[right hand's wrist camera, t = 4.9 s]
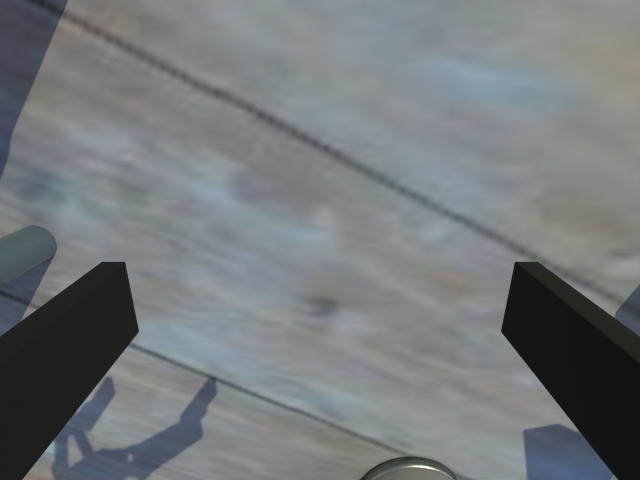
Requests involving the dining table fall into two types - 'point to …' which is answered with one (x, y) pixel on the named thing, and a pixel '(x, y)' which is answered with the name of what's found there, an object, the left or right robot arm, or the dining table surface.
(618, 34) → the dining table surface
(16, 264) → the gray cylinder
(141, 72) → the dining table surface
